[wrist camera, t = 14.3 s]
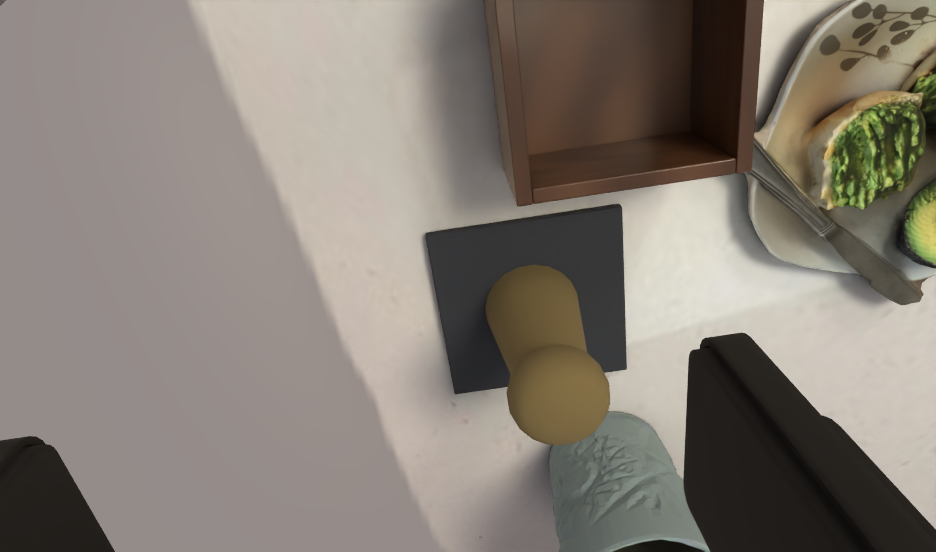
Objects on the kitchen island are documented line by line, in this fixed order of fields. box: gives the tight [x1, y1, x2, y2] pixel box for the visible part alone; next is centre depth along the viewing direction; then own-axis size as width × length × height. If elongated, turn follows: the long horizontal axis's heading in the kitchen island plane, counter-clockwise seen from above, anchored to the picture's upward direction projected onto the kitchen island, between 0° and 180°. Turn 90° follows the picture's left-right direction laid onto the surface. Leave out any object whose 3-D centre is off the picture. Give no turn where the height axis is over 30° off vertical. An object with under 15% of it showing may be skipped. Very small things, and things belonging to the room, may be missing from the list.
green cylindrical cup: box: [549, 412, 710, 552], centre depth 40 cm, size 10×10×12 cm
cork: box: [485, 265, 610, 445], centre depth 34 cm, size 6×6×11 cm
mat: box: [426, 204, 627, 394], centre depth 39 cm, size 12×12×1 cm
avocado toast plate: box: [744, 0, 936, 305], centre depth 34 cm, size 19×18×5 cm
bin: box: [484, 0, 764, 206], centre depth 30 cm, size 12×12×7 cm
